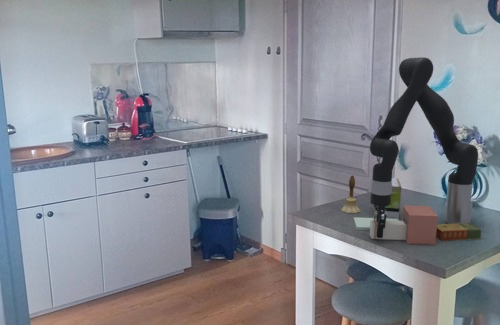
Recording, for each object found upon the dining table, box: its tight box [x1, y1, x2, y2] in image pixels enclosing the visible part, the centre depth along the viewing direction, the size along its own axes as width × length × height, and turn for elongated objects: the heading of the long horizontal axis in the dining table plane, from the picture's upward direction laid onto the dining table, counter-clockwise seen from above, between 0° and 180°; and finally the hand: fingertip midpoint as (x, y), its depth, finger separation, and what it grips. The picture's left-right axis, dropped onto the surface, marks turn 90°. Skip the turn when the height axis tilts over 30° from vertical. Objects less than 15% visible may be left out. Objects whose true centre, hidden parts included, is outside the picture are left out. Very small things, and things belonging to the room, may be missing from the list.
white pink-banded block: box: [369, 220, 407, 241], centre depth 191 cm, size 13×4×6 cm, turn 85°
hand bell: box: [340, 175, 361, 214], centre depth 222 cm, size 8×8×16 cm
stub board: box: [353, 217, 400, 231], centre depth 204 cm, size 18×12×1 cm, turn 84°
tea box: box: [385, 177, 402, 220], centre depth 218 cm, size 15×10×15 cm
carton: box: [436, 223, 482, 242], centre depth 193 cm, size 8×16×4 cm, turn 98°
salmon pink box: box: [401, 204, 439, 246], centre depth 189 cm, size 10×12×11 cm
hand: (378, 234), depth 191 cm, fingers closed on white pink-banded block, 4 cm apart
